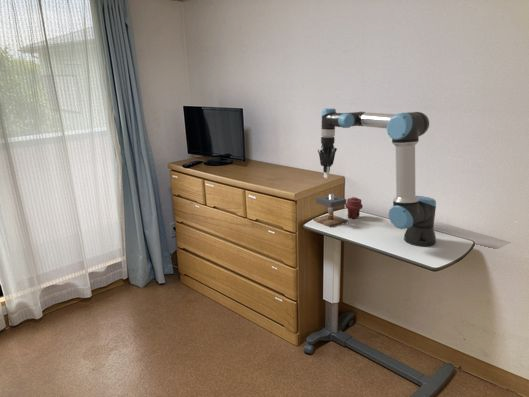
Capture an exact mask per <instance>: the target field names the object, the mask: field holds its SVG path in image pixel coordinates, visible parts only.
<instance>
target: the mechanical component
mask: <svg viewBox="0 0 529 397" xmlns="http://www.w3.org/2000/svg"><path fill="white" fill-rule="evenodd" d="M344 206H345V208H346V209H347V219H353V220H358V217H360V212H361V211H360V210H362V209H363V204H362V199H360V198H358V197H355V196H352V197H351V198H350V197H349V198H346V204H345V205H344Z"/></svg>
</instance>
